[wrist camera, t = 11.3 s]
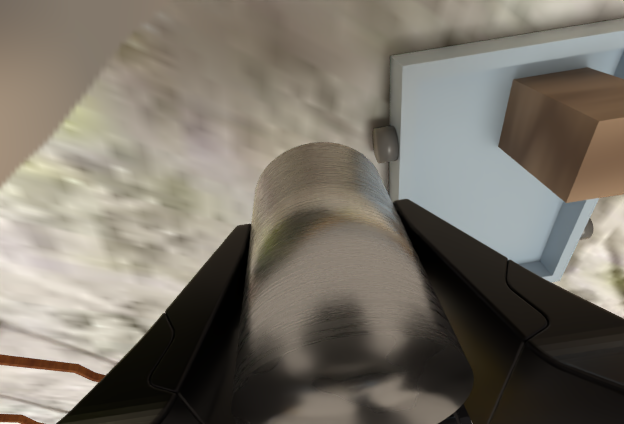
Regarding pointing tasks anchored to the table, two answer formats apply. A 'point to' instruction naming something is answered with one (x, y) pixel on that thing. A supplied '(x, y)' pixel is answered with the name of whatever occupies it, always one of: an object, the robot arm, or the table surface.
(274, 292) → the shiny metal cylinder
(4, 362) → the glasses
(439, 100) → the cart
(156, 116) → the table surface
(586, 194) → the walnut block
